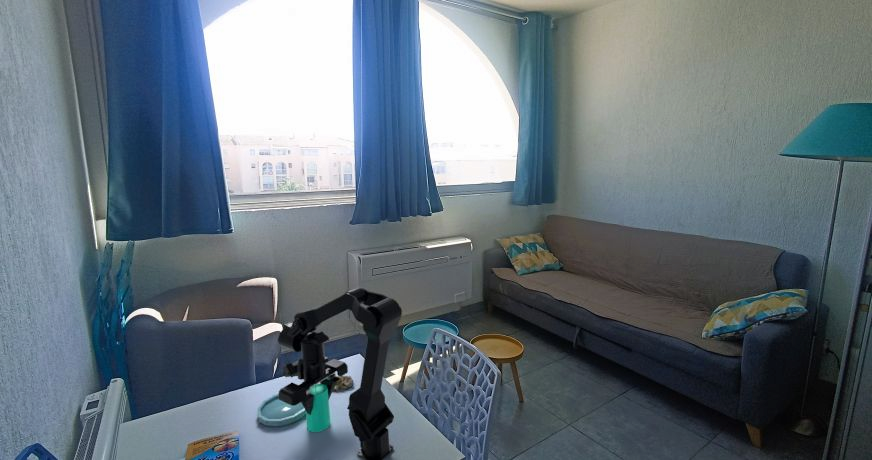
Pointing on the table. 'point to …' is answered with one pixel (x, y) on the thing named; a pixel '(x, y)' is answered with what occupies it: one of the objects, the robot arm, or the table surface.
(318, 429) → the candle
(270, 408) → the dish
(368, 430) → the robot arm
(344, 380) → the mineral rock
